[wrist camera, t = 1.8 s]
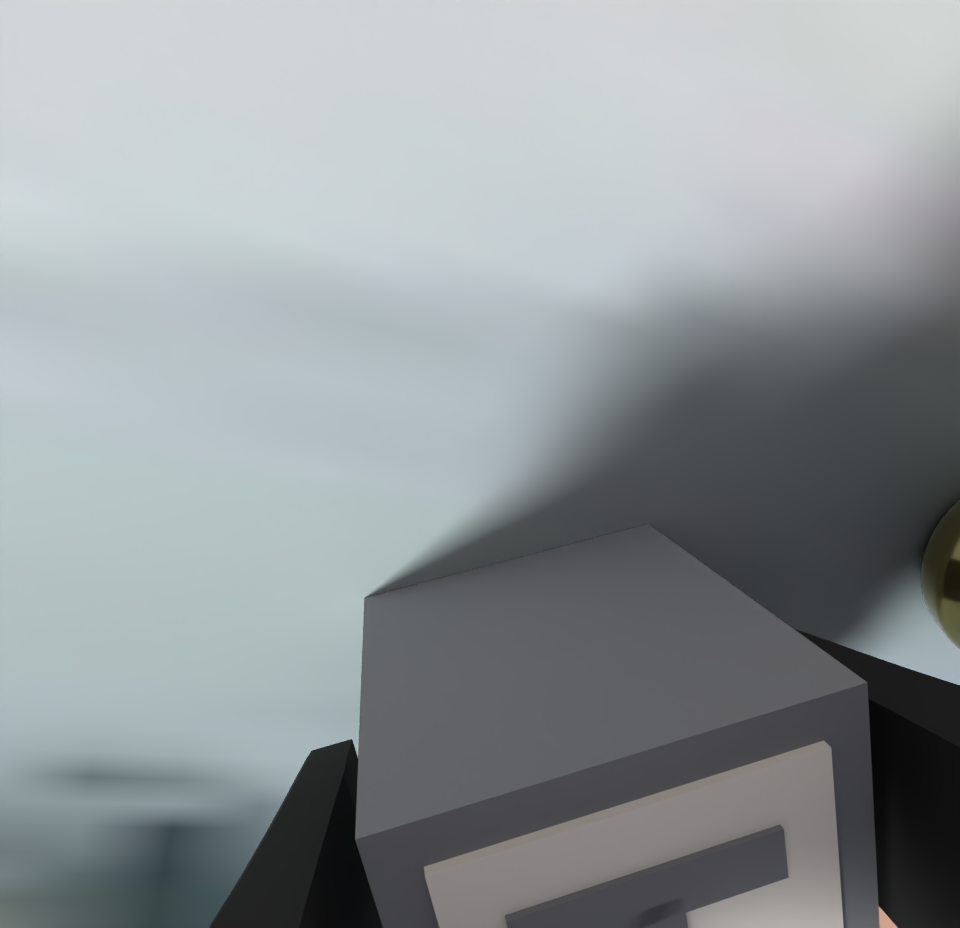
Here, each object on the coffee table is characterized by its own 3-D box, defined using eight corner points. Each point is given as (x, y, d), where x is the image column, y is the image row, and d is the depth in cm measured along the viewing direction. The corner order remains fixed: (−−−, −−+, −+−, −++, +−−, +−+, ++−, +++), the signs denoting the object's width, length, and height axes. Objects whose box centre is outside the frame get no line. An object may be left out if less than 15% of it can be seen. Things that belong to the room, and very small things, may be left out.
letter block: (430, 835, 11) (473, 1230, 6) (364, 595, 10) (354, 854, 5) (679, 758, 12) (896, 1065, 7) (646, 522, 11) (880, 691, 6)
